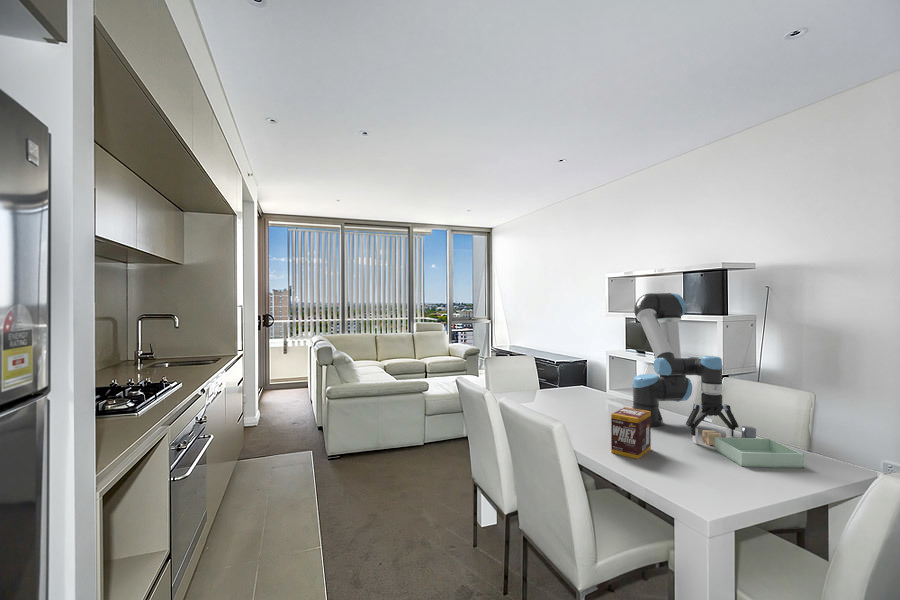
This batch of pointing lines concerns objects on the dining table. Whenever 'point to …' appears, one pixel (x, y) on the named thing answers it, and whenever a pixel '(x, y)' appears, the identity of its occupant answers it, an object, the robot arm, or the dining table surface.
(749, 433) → the grey tin
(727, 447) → the tote
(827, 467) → the dining table surface
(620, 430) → the supplement box
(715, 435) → the oak cube
